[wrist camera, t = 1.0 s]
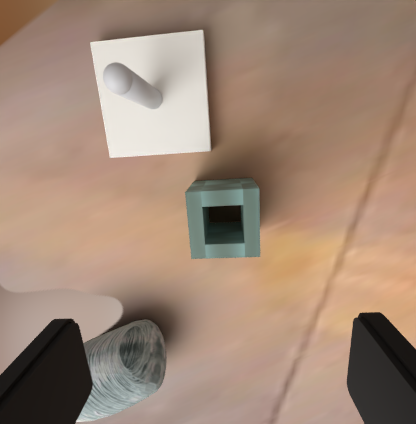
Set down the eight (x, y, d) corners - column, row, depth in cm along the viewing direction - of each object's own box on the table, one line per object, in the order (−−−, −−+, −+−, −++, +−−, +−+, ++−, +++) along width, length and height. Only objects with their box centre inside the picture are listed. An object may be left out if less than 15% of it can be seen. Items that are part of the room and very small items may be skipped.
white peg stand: (204, 36, 22) (187, -41, 13) (211, 150, 25) (202, 155, 16) (98, 48, 23) (10, -16, 14) (116, 156, 26) (52, 165, 16)
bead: (251, 177, 26) (259, 188, 20) (253, 232, 27) (260, 256, 21) (194, 181, 26) (185, 192, 20) (198, 234, 28) (191, 258, 22)
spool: (142, 302, 27) (109, 423, 20) (188, 331, 33) (175, 432, 26) (61, 316, 32) (14, 414, 25) (113, 338, 38) (86, 423, 31)
